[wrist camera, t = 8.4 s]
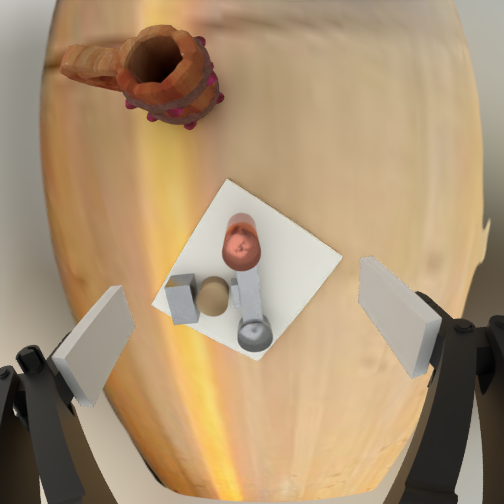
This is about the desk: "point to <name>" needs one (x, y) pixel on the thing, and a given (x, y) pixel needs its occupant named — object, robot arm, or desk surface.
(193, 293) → the grey rectangular block
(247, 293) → the lever
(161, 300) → the bench board
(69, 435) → the robot arm
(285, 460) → the desk surface
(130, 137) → the desk surface
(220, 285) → the tan short cylinder
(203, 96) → the mug
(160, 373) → the desk surface
